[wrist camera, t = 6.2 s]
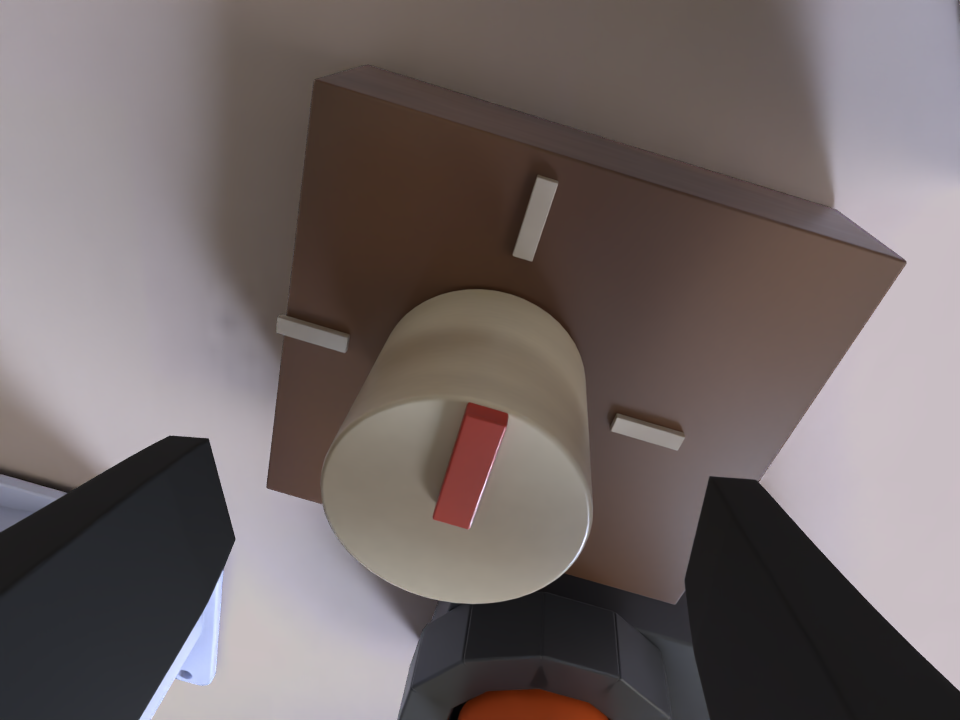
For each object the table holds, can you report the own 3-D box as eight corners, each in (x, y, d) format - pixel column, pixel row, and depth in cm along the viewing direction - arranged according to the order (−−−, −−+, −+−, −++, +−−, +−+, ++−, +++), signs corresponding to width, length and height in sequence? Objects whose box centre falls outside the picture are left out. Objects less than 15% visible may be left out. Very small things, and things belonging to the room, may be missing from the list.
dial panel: (307, 414, 17) (258, 492, 14) (361, 62, 12) (302, 77, 10) (658, 515, 17) (677, 611, 14) (838, 209, 13) (914, 265, 10)
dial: (547, 484, 13) (541, 649, 10) (366, 432, 13) (296, 580, 10) (617, 324, 11) (640, 461, 8) (403, 260, 11) (331, 372, 8)
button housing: (409, 643, 21) (374, 785, 17) (461, 488, 17) (432, 625, 14) (695, 723, 22) (724, 879, 18) (808, 588, 18) (876, 750, 14)
